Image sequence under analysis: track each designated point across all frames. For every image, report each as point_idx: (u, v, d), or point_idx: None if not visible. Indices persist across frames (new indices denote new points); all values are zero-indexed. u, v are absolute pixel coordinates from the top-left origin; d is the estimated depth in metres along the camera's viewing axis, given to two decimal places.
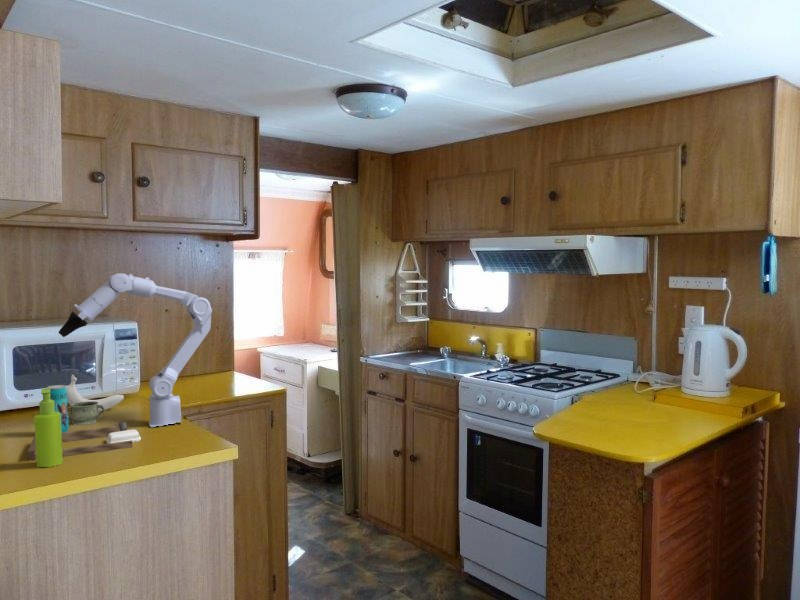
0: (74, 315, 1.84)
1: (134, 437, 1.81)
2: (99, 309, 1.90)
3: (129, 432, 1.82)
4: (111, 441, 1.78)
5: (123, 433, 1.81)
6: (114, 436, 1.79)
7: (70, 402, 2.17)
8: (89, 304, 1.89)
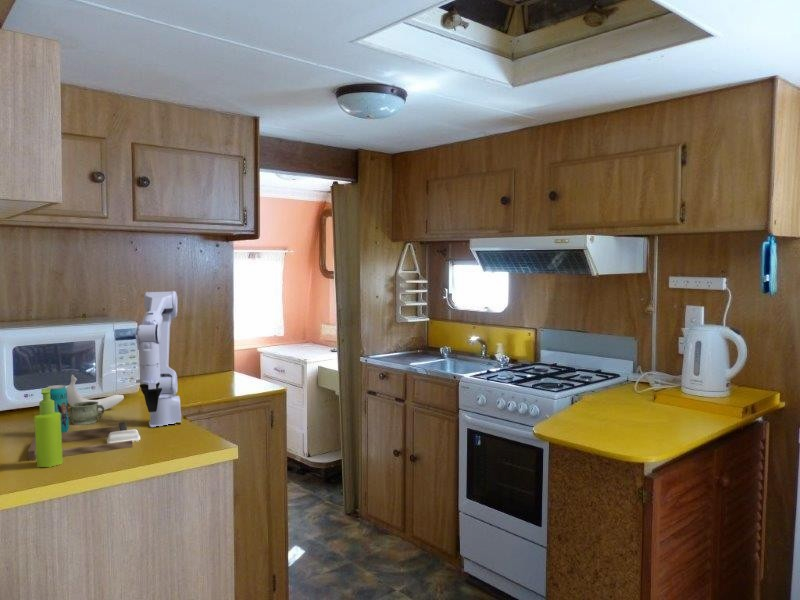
0: (146, 391, 1.79)
1: (133, 437, 1.81)
2: (157, 367, 1.84)
3: (129, 432, 1.82)
4: (110, 441, 1.79)
5: (122, 433, 1.81)
6: (113, 436, 1.79)
7: (70, 402, 2.17)
8: (146, 371, 1.82)
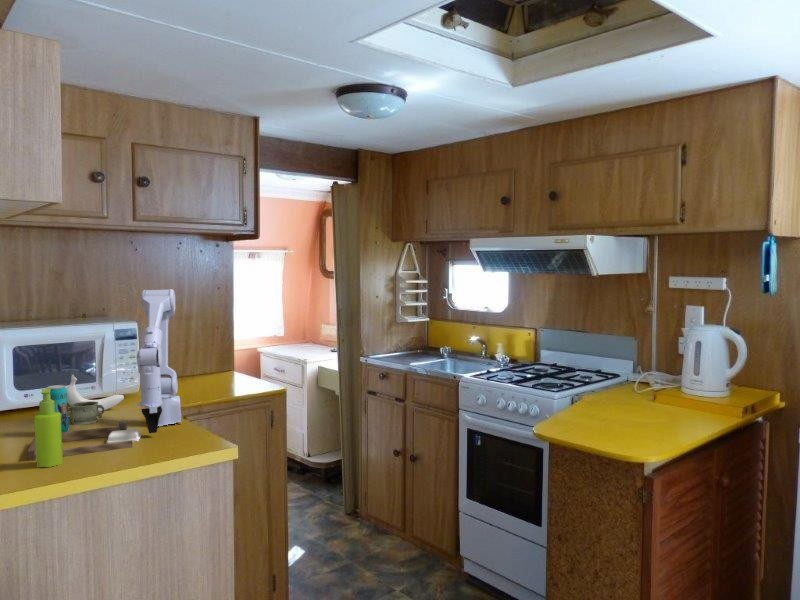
0: (146, 412, 1.82)
1: (131, 437, 1.81)
2: (158, 391, 1.84)
3: (128, 432, 1.82)
4: (109, 440, 1.80)
5: (122, 432, 1.82)
6: (112, 435, 1.80)
7: (70, 402, 2.17)
8: (147, 395, 1.82)
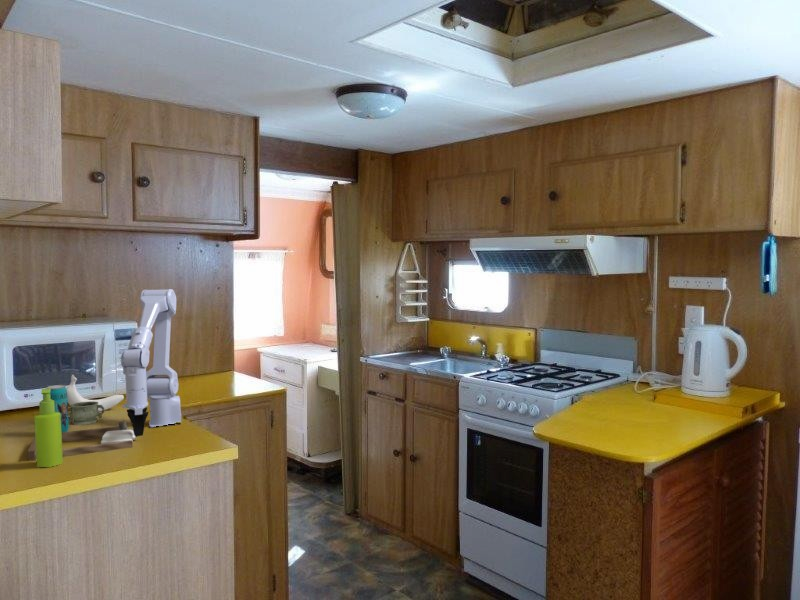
0: (132, 415, 1.79)
1: (125, 437, 1.81)
2: (144, 392, 1.83)
3: (122, 432, 1.82)
4: (103, 440, 1.79)
5: (116, 433, 1.81)
6: (106, 435, 1.80)
7: (70, 402, 2.17)
8: (132, 396, 1.81)
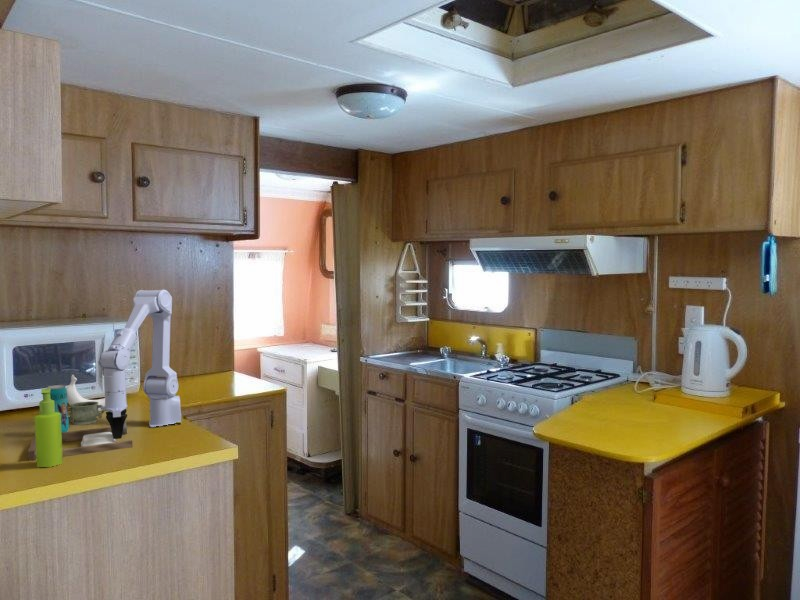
0: (110, 418, 1.76)
1: (108, 440, 1.79)
2: (123, 394, 1.80)
3: (103, 434, 1.80)
4: (84, 443, 1.76)
5: (97, 435, 1.79)
6: (87, 438, 1.76)
7: (70, 402, 2.17)
8: (111, 399, 1.78)
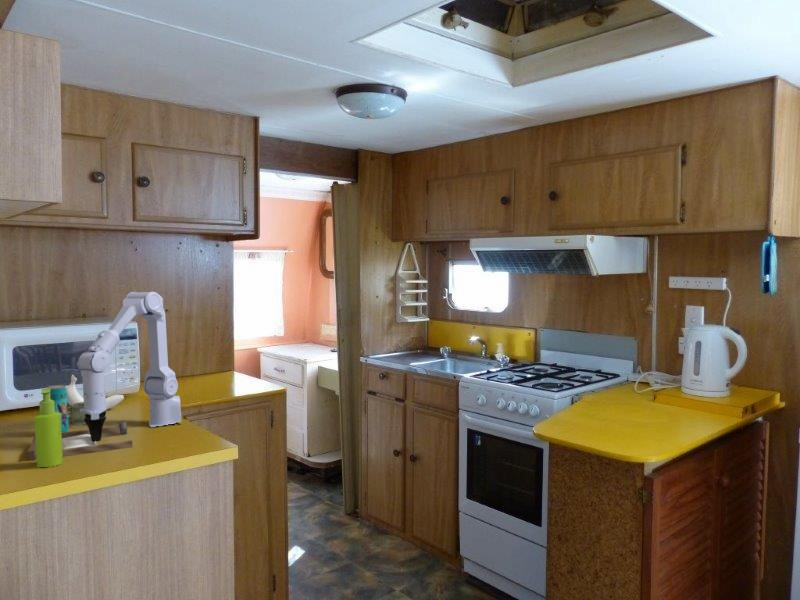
0: (89, 420, 1.74)
1: (89, 441, 1.77)
2: (102, 396, 1.78)
3: (84, 437, 1.77)
4: (65, 446, 1.73)
5: (77, 438, 1.76)
6: (68, 441, 1.74)
7: (70, 402, 2.17)
8: (89, 401, 1.76)
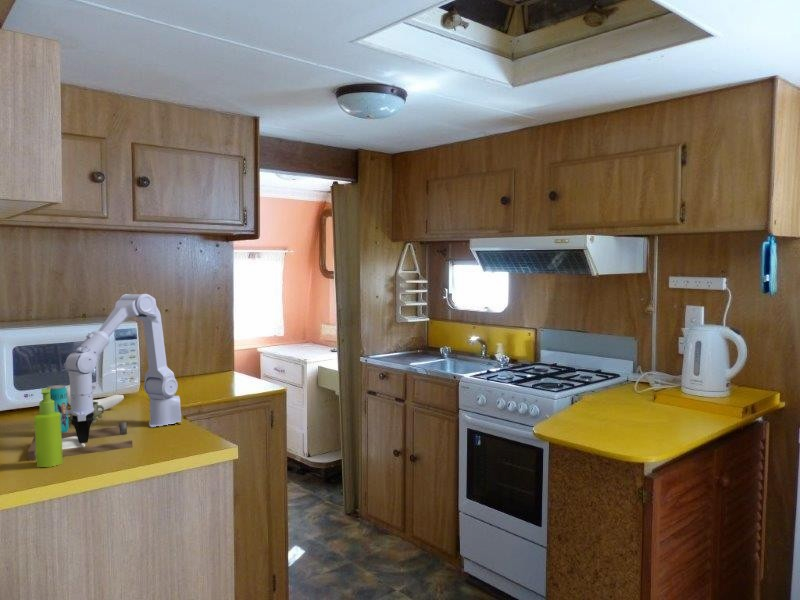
0: (75, 422, 1.73)
1: (78, 443, 1.76)
2: (89, 397, 1.76)
3: (72, 439, 1.76)
4: None
5: (66, 440, 1.75)
6: None
7: (70, 402, 2.17)
8: (76, 402, 1.74)
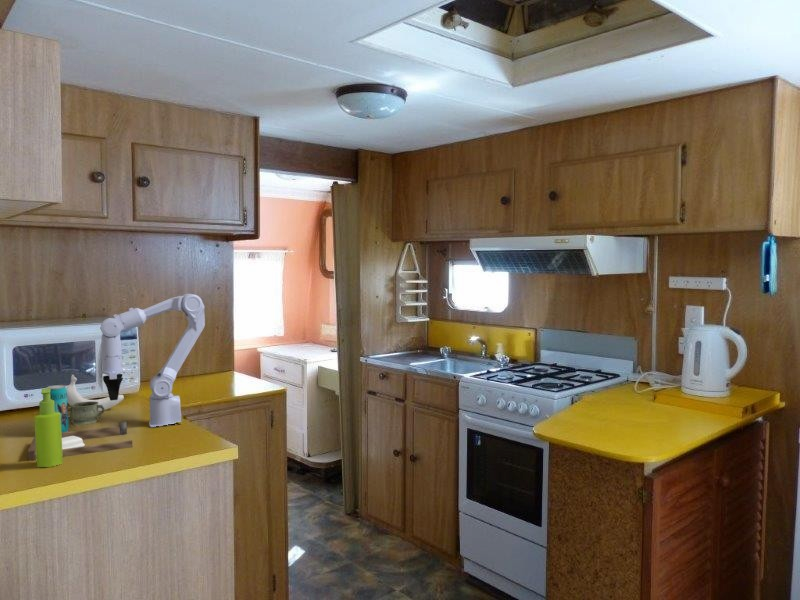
0: (107, 380, 1.90)
1: (78, 443, 1.77)
2: (119, 359, 1.94)
3: (71, 438, 1.77)
4: None
5: (66, 440, 1.75)
6: None
7: (70, 402, 2.17)
8: (108, 363, 1.92)
